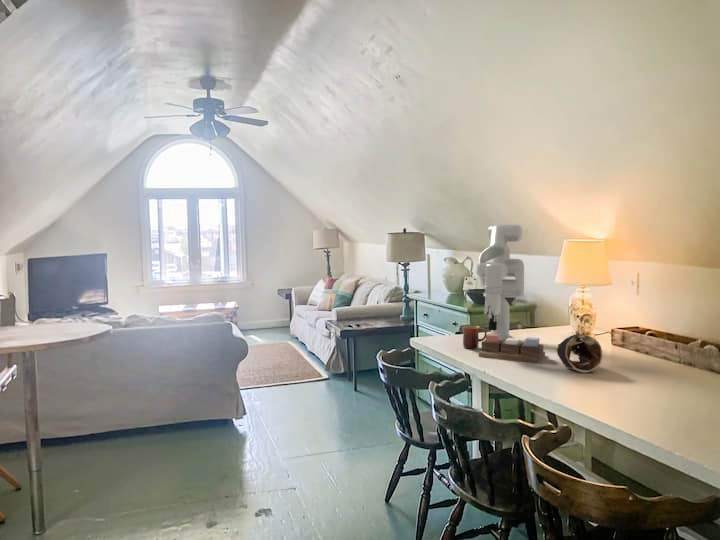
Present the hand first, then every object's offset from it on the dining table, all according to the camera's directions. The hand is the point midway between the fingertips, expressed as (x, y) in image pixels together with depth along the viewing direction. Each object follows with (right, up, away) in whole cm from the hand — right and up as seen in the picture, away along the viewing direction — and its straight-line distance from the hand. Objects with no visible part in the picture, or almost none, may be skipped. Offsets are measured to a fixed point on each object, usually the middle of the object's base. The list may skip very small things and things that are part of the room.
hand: (492, 329), depth 254 cm
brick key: (0, -6, +1) cm, 6 cm away
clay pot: (+30, -13, -22) cm, 39 cm away
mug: (-6, -11, +15) cm, 19 cm away
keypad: (+8, -12, -3) cm, 14 cm away
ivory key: (+8, -8, -4) cm, 12 cm away
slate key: (+16, -7, -8) cm, 19 cm away
